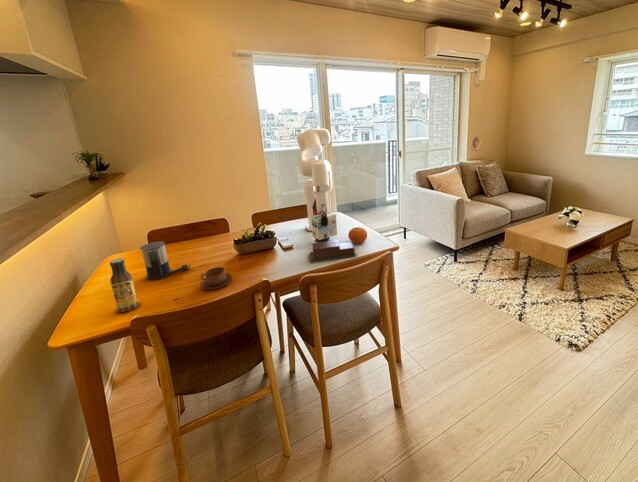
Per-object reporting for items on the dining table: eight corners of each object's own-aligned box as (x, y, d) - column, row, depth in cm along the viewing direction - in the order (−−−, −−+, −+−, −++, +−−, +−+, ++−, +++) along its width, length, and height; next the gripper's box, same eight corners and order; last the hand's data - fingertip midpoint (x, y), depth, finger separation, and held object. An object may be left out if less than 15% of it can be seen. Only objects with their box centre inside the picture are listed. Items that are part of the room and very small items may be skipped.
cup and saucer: (199, 294, 123) (197, 281, 121) (203, 280, 133) (200, 268, 132) (232, 287, 127) (230, 274, 126) (232, 274, 138) (230, 262, 136)
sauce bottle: (116, 315, 111) (102, 266, 106) (119, 307, 116) (105, 259, 111) (138, 309, 114) (125, 261, 109) (139, 301, 119) (127, 255, 114)
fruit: (370, 242, 169) (370, 229, 167) (354, 247, 163) (354, 233, 161) (360, 237, 177) (360, 224, 175) (345, 241, 172) (344, 228, 169)
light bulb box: (319, 240, 145) (317, 219, 142) (312, 236, 150) (310, 216, 147) (338, 234, 151) (336, 214, 148) (330, 231, 157) (329, 211, 153)
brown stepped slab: (309, 254, 156) (308, 243, 154) (352, 249, 161) (352, 237, 159) (310, 262, 148) (309, 250, 146) (356, 256, 153) (355, 244, 151)
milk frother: (144, 276, 139) (136, 246, 135) (181, 263, 151) (175, 235, 147) (155, 285, 130) (147, 254, 126) (194, 271, 142) (188, 241, 138)
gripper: (312, 185, 151) (314, 217, 156) (314, 193, 135) (317, 229, 140) (327, 183, 153) (329, 216, 158) (331, 191, 137) (333, 227, 141)
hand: (323, 222), depth 149 cm, fingers closed on light bulb box, 9 cm apart
